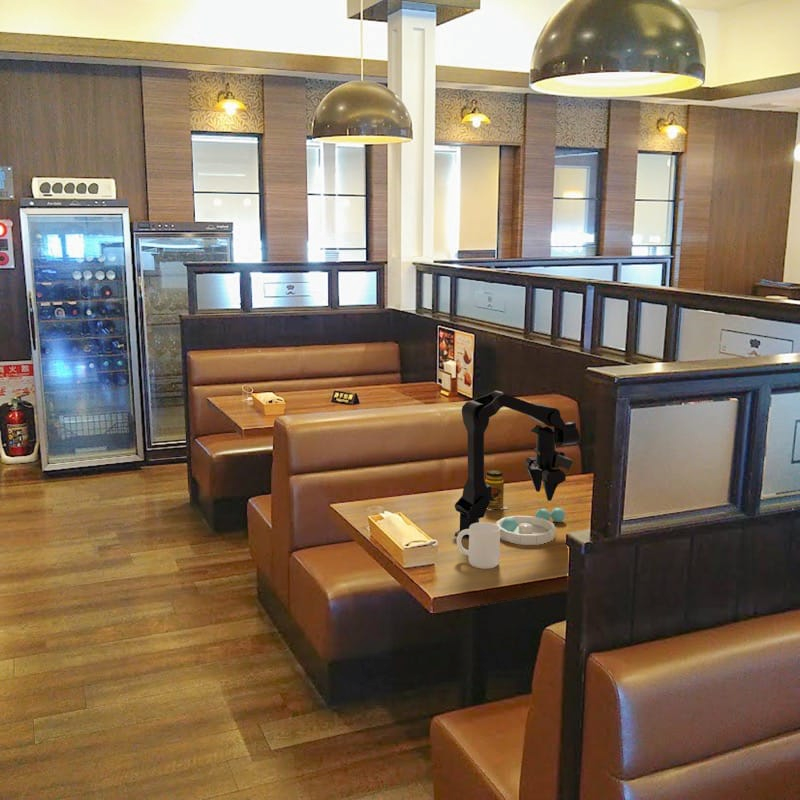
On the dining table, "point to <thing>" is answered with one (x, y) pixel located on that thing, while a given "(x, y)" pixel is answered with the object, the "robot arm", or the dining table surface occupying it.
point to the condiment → (496, 489)
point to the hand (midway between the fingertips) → (543, 496)
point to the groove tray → (528, 539)
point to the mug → (481, 544)
